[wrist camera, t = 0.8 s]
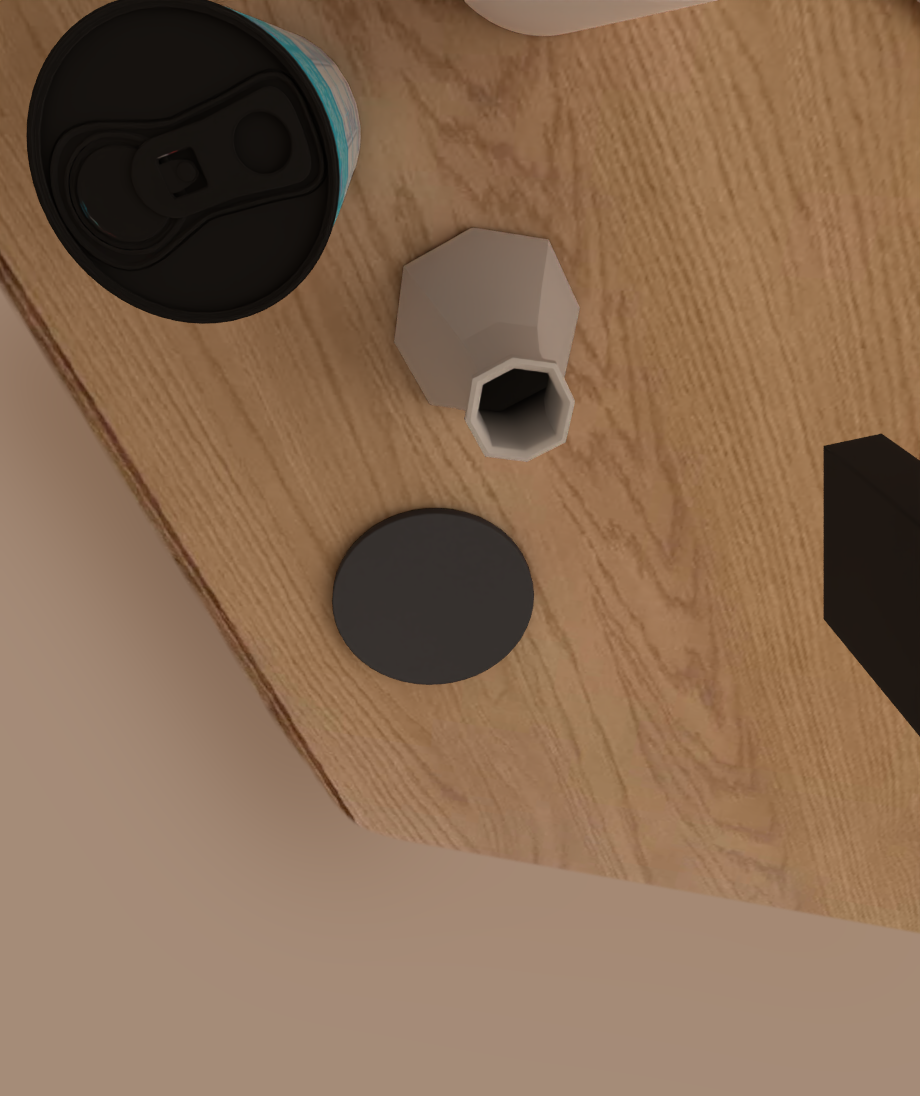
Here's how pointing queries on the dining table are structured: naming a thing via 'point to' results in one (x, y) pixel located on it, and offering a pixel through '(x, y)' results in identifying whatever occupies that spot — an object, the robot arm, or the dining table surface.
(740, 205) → the dining table surface
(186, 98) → the beverage can
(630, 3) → the cup
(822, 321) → the dining table surface
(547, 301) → the flask
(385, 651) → the slate coaster
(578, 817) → the dining table surface
